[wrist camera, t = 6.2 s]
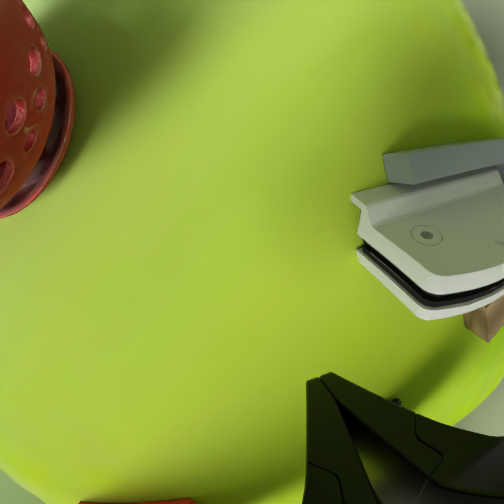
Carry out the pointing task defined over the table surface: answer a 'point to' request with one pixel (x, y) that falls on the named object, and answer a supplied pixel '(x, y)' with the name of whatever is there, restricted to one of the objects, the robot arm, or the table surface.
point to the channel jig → (443, 160)
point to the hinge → (436, 241)
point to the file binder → (178, 503)
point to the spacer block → (486, 319)
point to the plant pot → (30, 109)
